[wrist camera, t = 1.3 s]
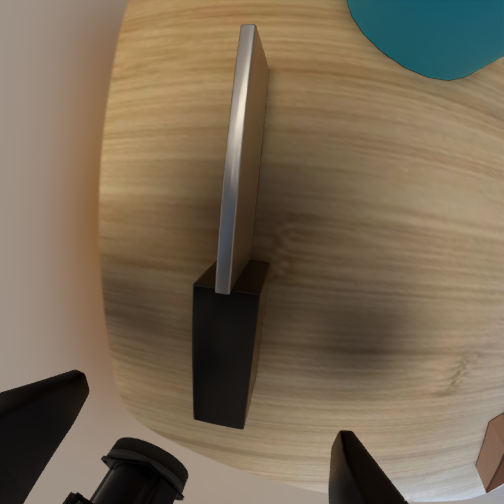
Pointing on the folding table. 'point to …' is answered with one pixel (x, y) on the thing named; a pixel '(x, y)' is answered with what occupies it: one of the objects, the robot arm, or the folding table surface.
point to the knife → (234, 259)
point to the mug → (434, 33)
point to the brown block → (492, 455)
